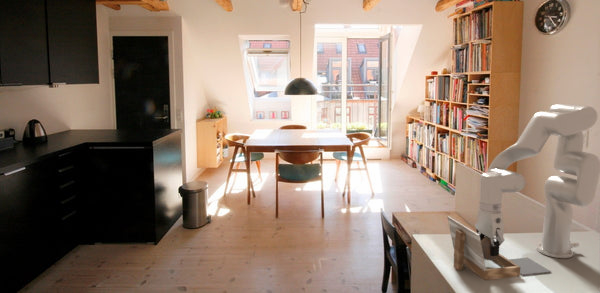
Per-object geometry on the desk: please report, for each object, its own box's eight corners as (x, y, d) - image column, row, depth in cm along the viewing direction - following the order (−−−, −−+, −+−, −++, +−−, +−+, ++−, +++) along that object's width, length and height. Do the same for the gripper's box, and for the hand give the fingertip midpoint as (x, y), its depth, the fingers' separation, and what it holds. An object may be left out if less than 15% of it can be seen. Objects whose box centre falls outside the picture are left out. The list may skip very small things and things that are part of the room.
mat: (527, 258, 165) (527, 257, 165) (551, 272, 154) (551, 271, 154) (500, 261, 163) (500, 260, 163) (522, 275, 151) (522, 274, 151)
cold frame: (485, 253, 171) (488, 212, 168) (519, 276, 151) (523, 230, 148) (441, 257, 167) (444, 216, 164) (471, 281, 148) (474, 235, 145)
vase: (499, 262, 155) (501, 240, 154) (480, 261, 157) (480, 239, 155) (495, 254, 162) (496, 232, 160) (476, 253, 163) (477, 232, 162)
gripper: (515, 212, 148) (512, 260, 151) (484, 198, 165) (482, 241, 168) (496, 214, 147) (493, 262, 150) (467, 200, 163) (465, 243, 167)
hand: (488, 250), depth 159 cm, fingers closed on vase, 6 cm apart
